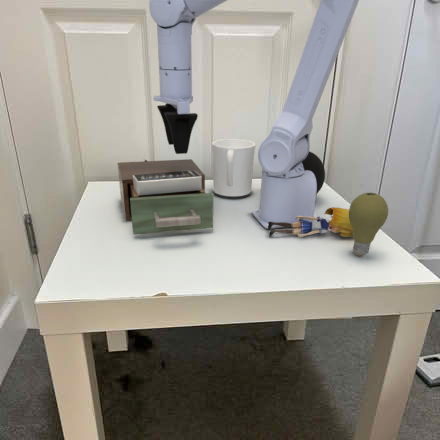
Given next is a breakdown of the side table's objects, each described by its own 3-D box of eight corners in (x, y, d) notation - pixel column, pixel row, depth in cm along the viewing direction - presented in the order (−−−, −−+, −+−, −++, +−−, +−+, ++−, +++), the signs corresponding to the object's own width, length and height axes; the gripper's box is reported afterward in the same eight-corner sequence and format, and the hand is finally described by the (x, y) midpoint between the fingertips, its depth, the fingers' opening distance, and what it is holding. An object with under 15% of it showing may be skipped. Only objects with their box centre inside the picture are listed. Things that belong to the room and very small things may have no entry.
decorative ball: (325, 208, 89) (332, 157, 84) (274, 207, 89) (278, 155, 84) (317, 193, 98) (323, 145, 93) (271, 191, 98) (274, 144, 93)
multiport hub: (133, 187, 77) (132, 174, 76) (194, 182, 81) (194, 169, 79) (138, 195, 74) (137, 181, 73) (202, 189, 77) (202, 176, 76)
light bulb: (358, 266, 68) (371, 201, 63) (334, 251, 72) (344, 190, 67) (386, 259, 70) (400, 196, 65) (360, 245, 74) (372, 185, 69)
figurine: (269, 245, 76) (358, 242, 77) (271, 219, 73) (364, 216, 73) (266, 229, 80) (351, 225, 80) (268, 203, 76) (357, 200, 76)
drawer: (219, 238, 73) (220, 204, 70) (136, 246, 70) (133, 210, 67) (199, 207, 86) (199, 177, 83) (127, 212, 83) (125, 181, 80)
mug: (214, 185, 101) (215, 137, 96) (254, 188, 100) (257, 139, 95) (206, 201, 92) (206, 149, 86) (250, 204, 91) (253, 151, 85)
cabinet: (204, 215, 85) (205, 175, 81) (125, 221, 81) (122, 179, 78) (192, 195, 94) (191, 159, 91) (121, 200, 91) (117, 162, 87)
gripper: (147, 65, 84) (151, 141, 91) (158, 72, 72) (162, 158, 79) (184, 66, 86) (185, 139, 93) (201, 72, 74) (201, 157, 81)
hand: (177, 148), depth 86 cm, fingers open, 7 cm apart
